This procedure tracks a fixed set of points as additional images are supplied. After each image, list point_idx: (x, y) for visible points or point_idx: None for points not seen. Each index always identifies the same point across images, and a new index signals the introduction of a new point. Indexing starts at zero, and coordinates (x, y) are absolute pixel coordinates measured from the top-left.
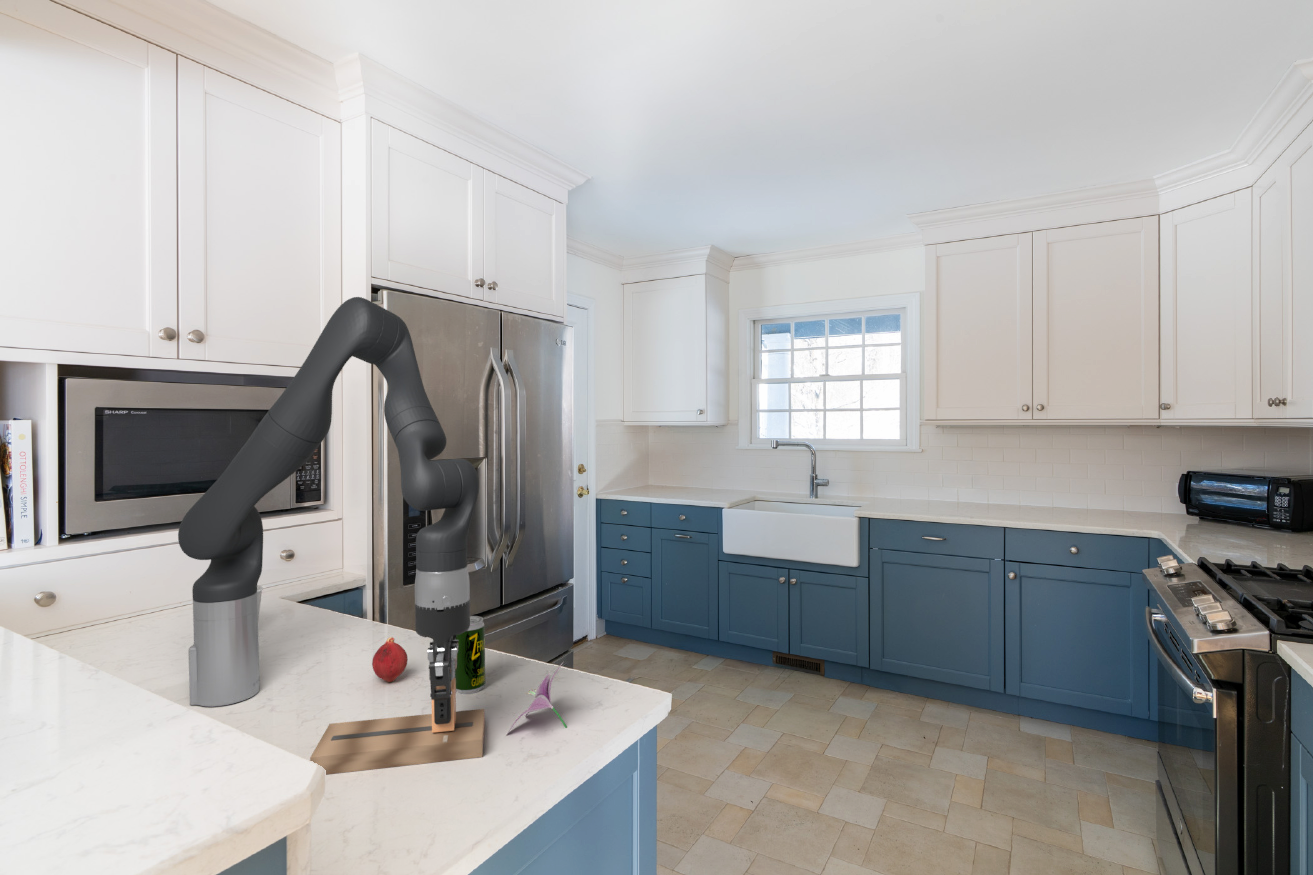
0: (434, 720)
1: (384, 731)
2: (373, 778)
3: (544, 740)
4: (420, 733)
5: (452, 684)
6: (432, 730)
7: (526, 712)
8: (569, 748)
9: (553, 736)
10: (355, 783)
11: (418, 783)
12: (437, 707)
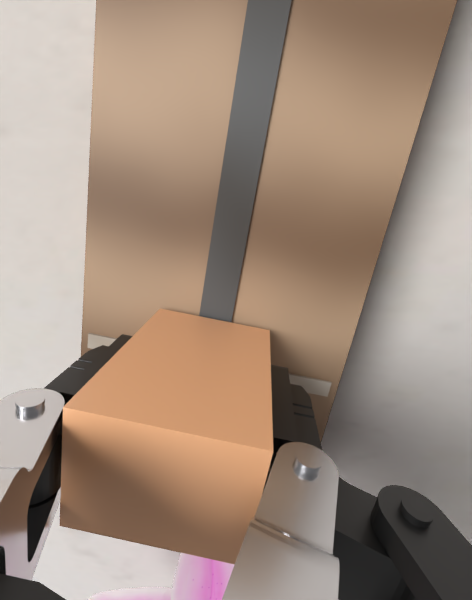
0: (119, 336)
1: (261, 115)
2: (64, 93)
3: (143, 544)
4: (190, 266)
5: (131, 532)
6: (158, 312)
7: (167, 590)
8: (87, 573)
9: (156, 565)
10: (46, 27)
11: (4, 234)
12: (53, 382)
